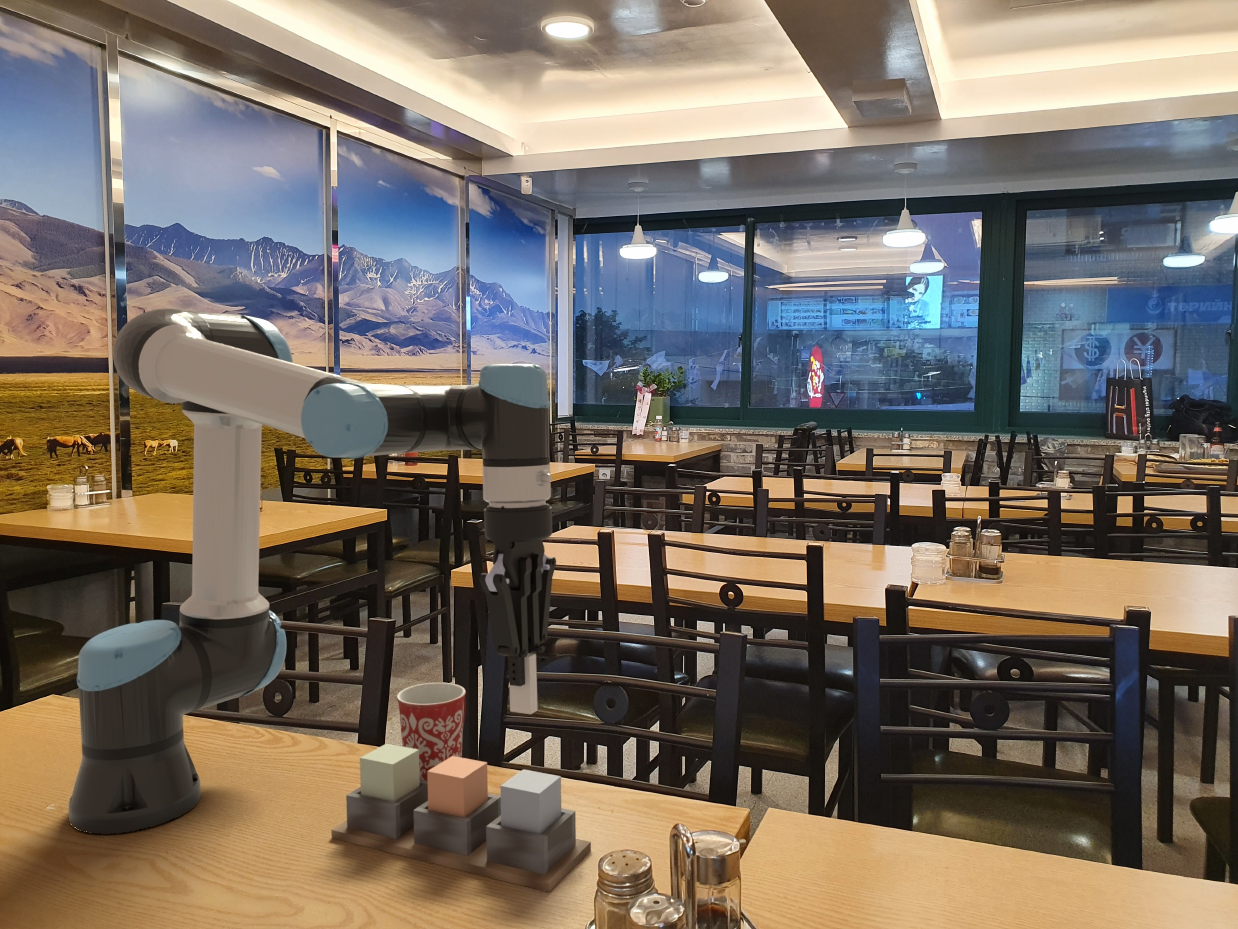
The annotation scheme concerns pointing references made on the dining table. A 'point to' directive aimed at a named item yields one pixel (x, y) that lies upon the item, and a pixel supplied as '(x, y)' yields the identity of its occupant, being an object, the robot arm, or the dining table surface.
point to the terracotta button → (457, 786)
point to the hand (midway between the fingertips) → (523, 710)
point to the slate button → (531, 801)
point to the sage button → (389, 772)
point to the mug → (432, 722)
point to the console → (464, 838)
